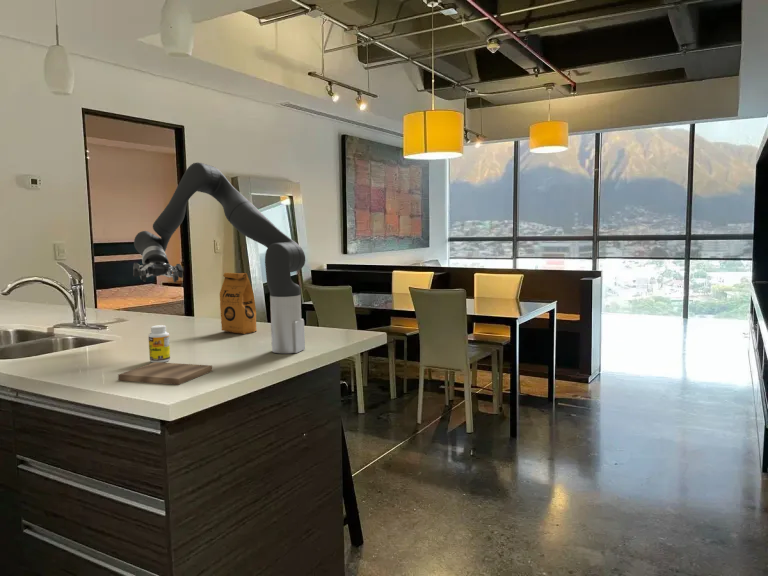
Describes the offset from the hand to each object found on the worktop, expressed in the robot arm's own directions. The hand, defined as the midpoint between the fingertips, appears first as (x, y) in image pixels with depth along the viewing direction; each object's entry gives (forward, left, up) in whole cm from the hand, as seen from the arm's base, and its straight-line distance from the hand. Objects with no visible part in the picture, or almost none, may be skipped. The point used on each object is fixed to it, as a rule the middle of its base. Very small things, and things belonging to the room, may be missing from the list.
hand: (160, 278), depth 173 cm
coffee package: (-1, -41, -23) cm, 47 cm away
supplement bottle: (-4, +7, -23) cm, 25 cm away
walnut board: (-17, +21, -23) cm, 36 cm away
